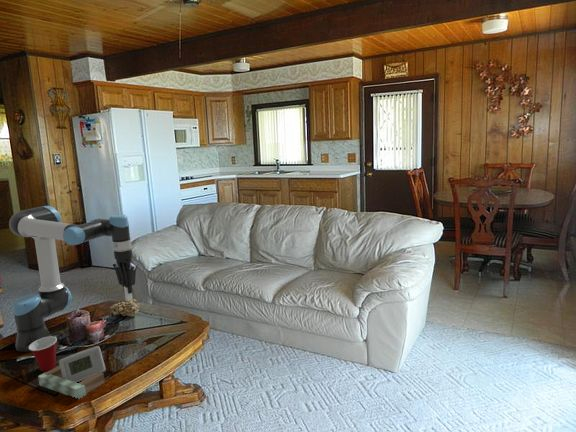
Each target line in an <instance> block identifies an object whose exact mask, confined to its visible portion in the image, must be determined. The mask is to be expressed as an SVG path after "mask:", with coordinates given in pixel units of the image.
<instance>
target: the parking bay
mask: <svg viewBox="0 0 576 432" xmlns="http://www.w3.org/2000/svg"><path fill="white" fill-rule="evenodd" d="M37 380H38V384H39V386H40V387H42V388H45V389H49V390H52V391H55V392H57V393H59V394H63V395H66V396H69V395H70V396H69V397H71V396H72V398H74V397H75V398H74V399H77V398H78V399H77V400H81V399H82V398H84V397H85V396H87V394H89V393H90V392H92V391H94V390H96V389H97V388H98V387H100V386H102V385H103V384H104V383H106V381H105V373H104V372H97V373H95V374H93V375H92V376H90V377H88V378H87V379H85V380H83V381H81V382H79V383H76V382H73V381H70V380H67V379H64V378H63V377H62V373H61V369H60V365H59V364H58V365H57V366H55V367H54V368H53V369H51V370H48V371H45V372H43V373H42V374H39V375H38V376H37ZM83 396H84V397H83ZM80 398H81V399H80Z"/></svg>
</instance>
